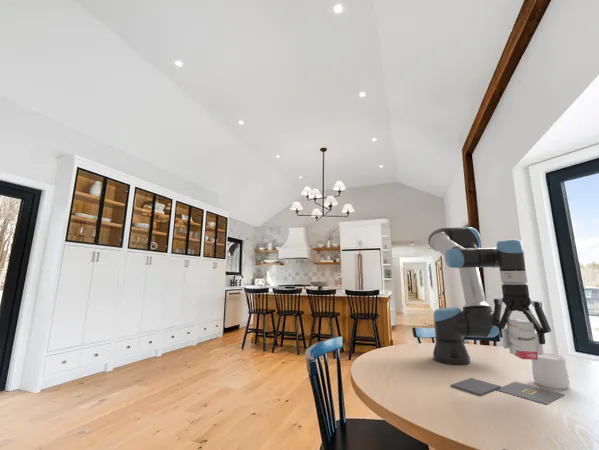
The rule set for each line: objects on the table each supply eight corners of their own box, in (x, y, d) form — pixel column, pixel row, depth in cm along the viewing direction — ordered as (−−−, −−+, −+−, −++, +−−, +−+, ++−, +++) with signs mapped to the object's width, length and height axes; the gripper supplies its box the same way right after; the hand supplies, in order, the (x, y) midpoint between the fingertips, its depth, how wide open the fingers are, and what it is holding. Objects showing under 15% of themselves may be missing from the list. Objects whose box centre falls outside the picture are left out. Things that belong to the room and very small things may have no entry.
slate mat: (495, 390, 99) (495, 389, 99) (515, 382, 106) (515, 381, 106) (546, 404, 87) (546, 403, 87) (564, 394, 94) (564, 393, 94)
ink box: (539, 360, 94) (534, 322, 96) (522, 359, 95) (517, 321, 97) (525, 353, 102) (520, 318, 104) (508, 352, 103) (504, 317, 105)
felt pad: (451, 386, 102) (450, 384, 102) (471, 379, 109) (471, 377, 109) (480, 396, 94) (480, 394, 94) (500, 387, 100) (500, 386, 100)
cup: (528, 382, 105) (524, 353, 107) (544, 378, 109) (540, 351, 111) (559, 391, 97) (554, 360, 99) (576, 386, 101) (571, 356, 103)
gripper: (476, 283, 110) (483, 345, 106) (548, 285, 92) (559, 360, 88) (486, 282, 114) (493, 343, 110) (557, 284, 95) (568, 356, 92)
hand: (522, 350), depth 99 cm, fingers closed on ink box, 9 cm apart
